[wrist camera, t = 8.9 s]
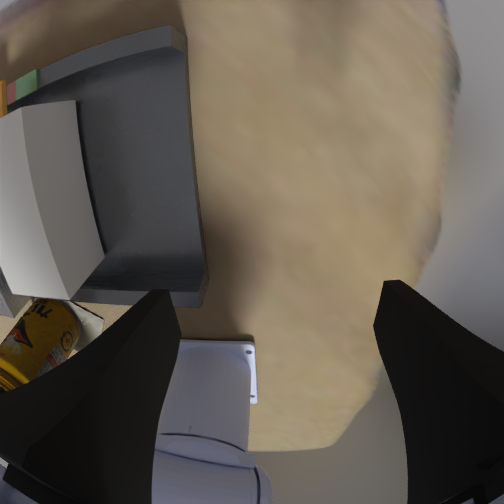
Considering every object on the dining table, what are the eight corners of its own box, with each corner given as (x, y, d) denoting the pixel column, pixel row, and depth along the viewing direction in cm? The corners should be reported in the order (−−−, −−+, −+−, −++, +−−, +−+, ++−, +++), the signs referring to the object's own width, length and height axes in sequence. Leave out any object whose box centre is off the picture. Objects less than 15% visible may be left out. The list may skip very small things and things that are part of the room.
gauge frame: (209, 279, 20) (192, 340, 15) (30, 275, 21) (-5, 313, 16) (187, 36, 12) (149, 6, 7) (-9, 109, 13) (-60, 123, 8)
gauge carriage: (105, 257, 18) (69, 299, 14) (47, 257, 19) (12, 293, 14) (73, 64, 12) (20, 61, 8) (14, 92, 12) (-35, 101, 8)
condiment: (33, 277, 21) (-38, 364, 11) (104, 318, 23) (47, 428, 12) (36, 323, 25) (-15, 402, 14) (97, 359, 26) (57, 450, 16)
